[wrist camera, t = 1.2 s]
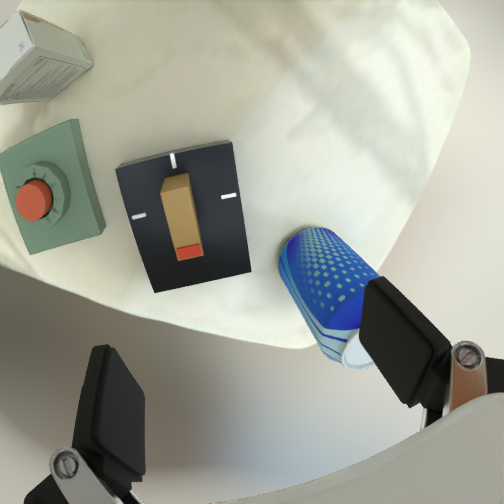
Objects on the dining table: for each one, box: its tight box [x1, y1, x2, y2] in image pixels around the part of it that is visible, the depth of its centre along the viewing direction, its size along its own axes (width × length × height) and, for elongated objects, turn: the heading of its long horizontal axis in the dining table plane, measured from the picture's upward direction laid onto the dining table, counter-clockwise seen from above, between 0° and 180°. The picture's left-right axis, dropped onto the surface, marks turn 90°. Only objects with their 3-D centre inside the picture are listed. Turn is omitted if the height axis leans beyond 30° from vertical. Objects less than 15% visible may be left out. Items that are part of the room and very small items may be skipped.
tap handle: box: [160, 173, 204, 261], centre depth 24 cm, size 6×2×5 cm, turn 8°
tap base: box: [115, 140, 251, 293], centre depth 28 cm, size 14×11×3 cm
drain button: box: [16, 180, 52, 221], centre depth 20 cm, size 4×4×2 cm
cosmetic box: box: [0, 10, 93, 105], centre depth 13 cm, size 6×4×12 cm
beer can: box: [278, 227, 380, 371], centre depth 28 cm, size 8×8×16 cm
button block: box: [0, 119, 106, 255], centre depth 22 cm, size 12×10×4 cm
